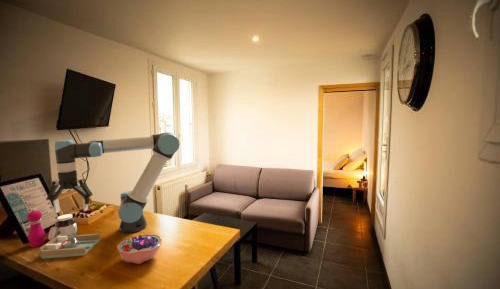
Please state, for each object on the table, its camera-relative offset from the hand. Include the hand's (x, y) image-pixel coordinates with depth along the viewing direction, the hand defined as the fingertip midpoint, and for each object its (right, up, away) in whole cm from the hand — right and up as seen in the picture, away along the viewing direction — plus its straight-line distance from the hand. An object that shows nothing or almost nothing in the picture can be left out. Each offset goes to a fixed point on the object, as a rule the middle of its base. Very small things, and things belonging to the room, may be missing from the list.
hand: (71, 211), depth 120 cm
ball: (-7, -18, +1) cm, 20 cm away
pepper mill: (-24, -20, +7) cm, 32 cm away
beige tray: (-1, -20, +2) cm, 20 cm away
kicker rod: (-2, -19, +2) cm, 19 cm away
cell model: (+39, -21, -8) cm, 45 cm away
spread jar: (-17, -19, +15) cm, 30 cm away
